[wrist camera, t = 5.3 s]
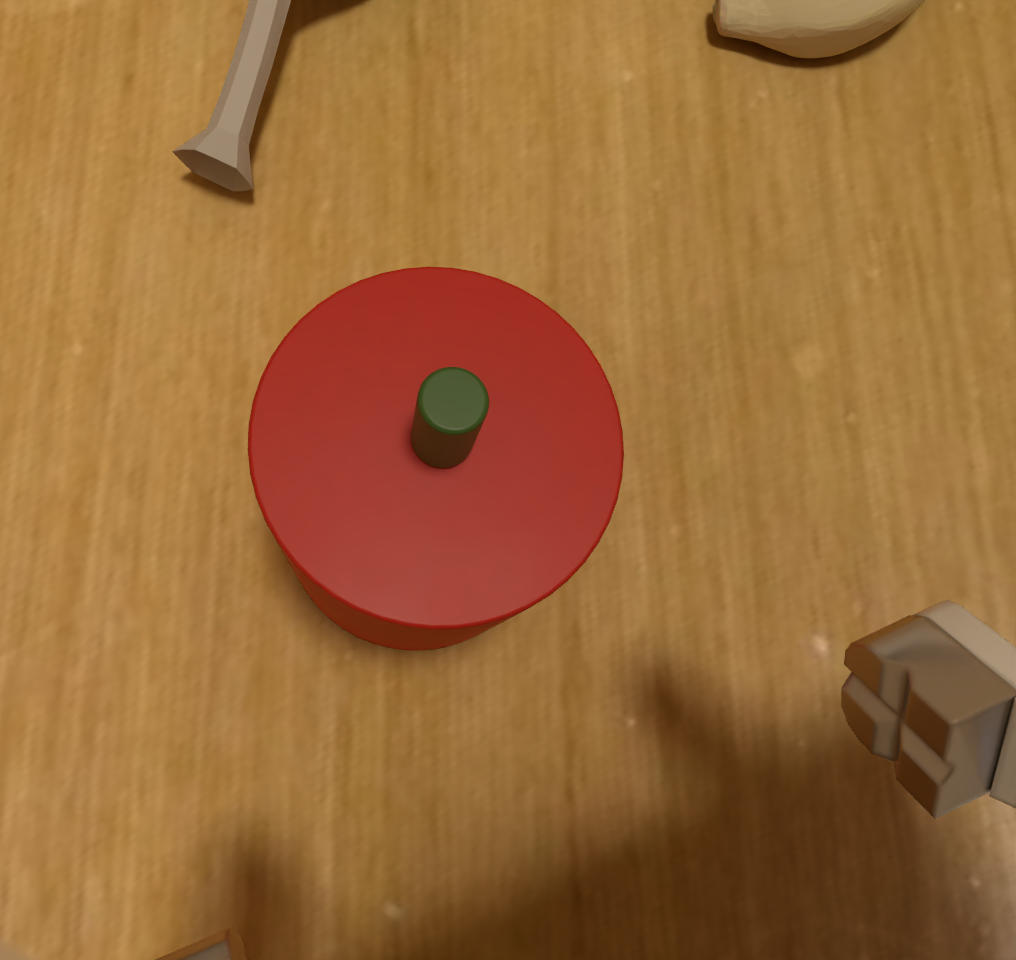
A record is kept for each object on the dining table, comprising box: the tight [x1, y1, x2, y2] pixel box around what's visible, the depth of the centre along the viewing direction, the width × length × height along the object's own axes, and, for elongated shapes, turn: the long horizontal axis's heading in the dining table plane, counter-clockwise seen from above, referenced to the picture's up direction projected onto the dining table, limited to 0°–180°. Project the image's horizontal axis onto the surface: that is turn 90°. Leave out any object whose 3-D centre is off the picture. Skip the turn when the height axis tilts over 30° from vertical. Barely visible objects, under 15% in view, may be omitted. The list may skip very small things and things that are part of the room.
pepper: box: [248, 267, 624, 650], centre depth 17 cm, size 6×6×9 cm
